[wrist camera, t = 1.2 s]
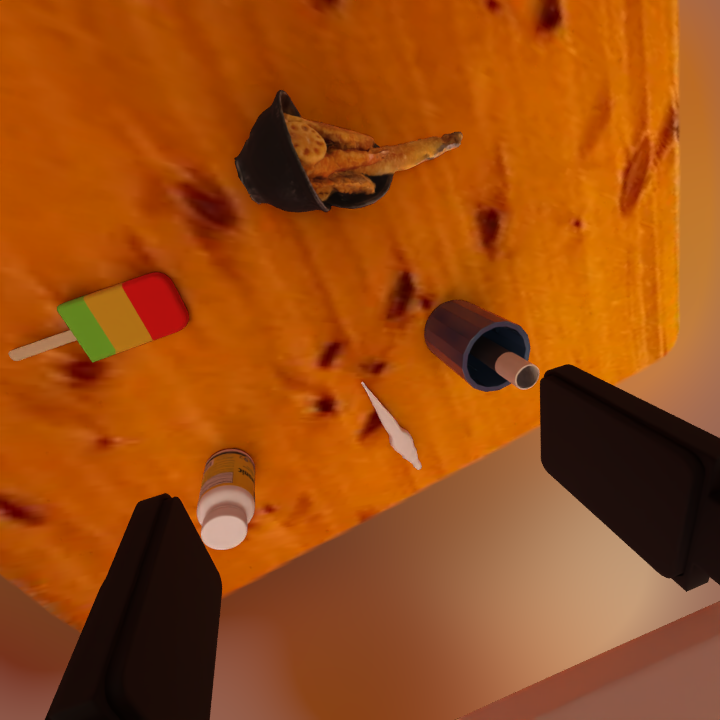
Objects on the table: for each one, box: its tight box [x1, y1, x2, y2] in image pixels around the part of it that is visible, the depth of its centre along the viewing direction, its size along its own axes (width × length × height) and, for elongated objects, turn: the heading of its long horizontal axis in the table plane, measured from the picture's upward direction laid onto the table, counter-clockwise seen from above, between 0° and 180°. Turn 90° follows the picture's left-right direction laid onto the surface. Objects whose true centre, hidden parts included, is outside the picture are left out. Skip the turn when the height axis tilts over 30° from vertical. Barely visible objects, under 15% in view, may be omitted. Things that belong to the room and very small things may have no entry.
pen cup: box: [425, 300, 530, 392], centre depth 40 cm, size 7×7×9 cm
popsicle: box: [9, 272, 189, 362], centre depth 34 cm, size 6×15×2 cm, turn 107°
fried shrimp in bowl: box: [235, 90, 463, 212], centre depth 30 cm, size 9×11×18 cm
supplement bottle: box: [197, 449, 255, 550], centre depth 39 cm, size 5×5×10 cm
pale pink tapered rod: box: [362, 382, 422, 470], centre depth 46 cm, size 15×3×2 cm, turn 31°
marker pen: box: [469, 335, 539, 389], centre depth 38 cm, size 2×2×13 cm
